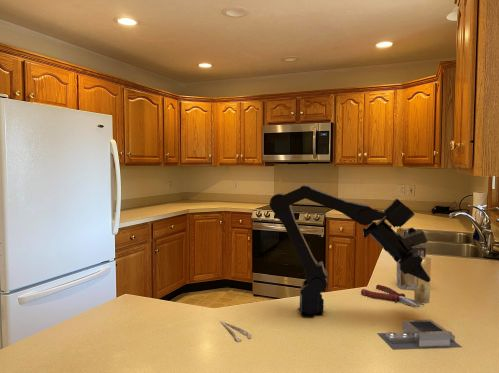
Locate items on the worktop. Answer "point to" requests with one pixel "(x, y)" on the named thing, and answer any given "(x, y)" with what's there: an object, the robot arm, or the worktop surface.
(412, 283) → the coffee box
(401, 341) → the grey framed plate
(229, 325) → the tweezers
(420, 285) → the amber cylinder
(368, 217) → the robot arm
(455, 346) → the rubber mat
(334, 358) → the worktop surface
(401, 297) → the pliers
